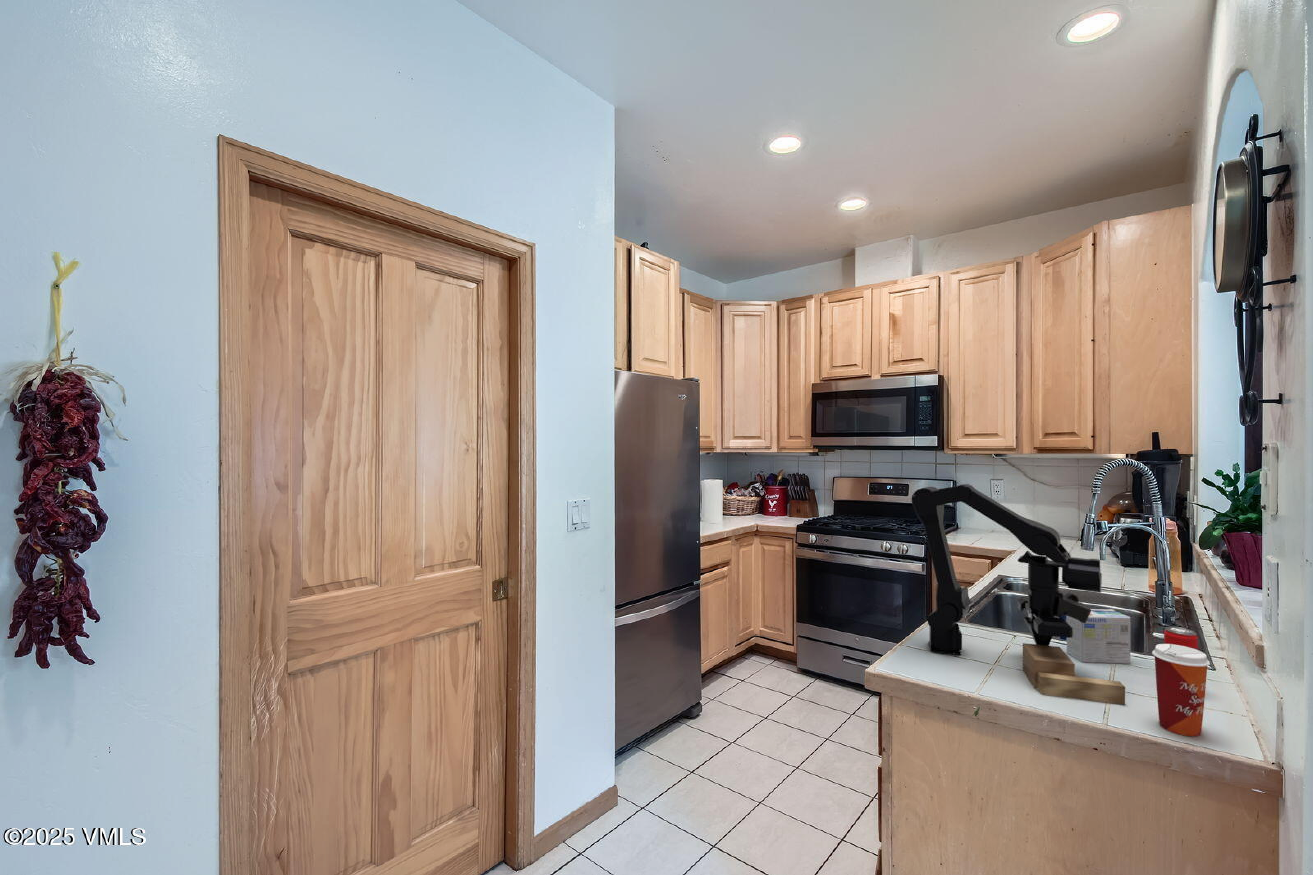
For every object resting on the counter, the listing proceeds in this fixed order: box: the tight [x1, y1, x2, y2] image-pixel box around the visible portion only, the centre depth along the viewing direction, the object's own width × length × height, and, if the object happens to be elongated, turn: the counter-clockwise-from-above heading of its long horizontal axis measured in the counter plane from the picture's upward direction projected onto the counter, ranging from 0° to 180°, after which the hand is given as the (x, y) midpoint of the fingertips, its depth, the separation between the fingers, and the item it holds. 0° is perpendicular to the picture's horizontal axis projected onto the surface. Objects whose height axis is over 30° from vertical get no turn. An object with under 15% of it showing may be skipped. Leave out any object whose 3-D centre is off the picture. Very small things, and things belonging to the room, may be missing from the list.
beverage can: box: [1163, 626, 1199, 650], centre depth 121 cm, size 5×5×12 cm
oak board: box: [1037, 672, 1126, 705], centre depth 118 cm, size 14×2×4 cm, turn 70°
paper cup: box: [1151, 643, 1211, 738], centre depth 105 cm, size 8×8×14 cm
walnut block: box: [1022, 642, 1076, 690], centre depth 125 cm, size 7×10×6 cm
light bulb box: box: [1065, 608, 1131, 664], centre depth 138 cm, size 11×7×11 cm, turn 84°
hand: (1042, 654), depth 131 cm, fingers closed
